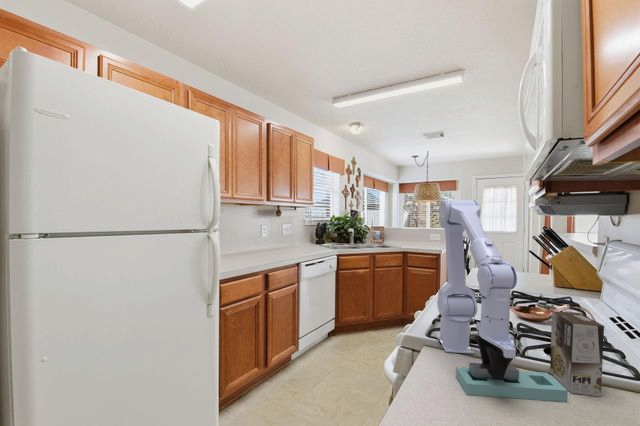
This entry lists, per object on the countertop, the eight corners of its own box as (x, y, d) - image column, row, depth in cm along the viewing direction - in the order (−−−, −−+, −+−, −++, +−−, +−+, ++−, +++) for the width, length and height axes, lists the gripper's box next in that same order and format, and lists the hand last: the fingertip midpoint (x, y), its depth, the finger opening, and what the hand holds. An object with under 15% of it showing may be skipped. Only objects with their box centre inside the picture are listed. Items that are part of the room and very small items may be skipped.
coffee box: (602, 397, 68) (606, 326, 68) (569, 393, 69) (572, 323, 69) (577, 375, 77) (580, 312, 77) (548, 371, 78) (551, 309, 78)
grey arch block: (468, 383, 73) (469, 362, 73) (512, 386, 72) (513, 365, 72) (472, 389, 70) (473, 368, 70) (518, 392, 69) (519, 370, 69)
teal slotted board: (467, 394, 68) (467, 383, 68) (455, 377, 75) (456, 367, 75) (567, 401, 66) (567, 390, 66) (546, 383, 73) (546, 372, 73)
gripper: (532, 329, 63) (529, 393, 63) (497, 305, 77) (495, 358, 78) (496, 327, 64) (494, 391, 64) (468, 304, 78) (467, 356, 79)
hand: (492, 373), depth 71 cm, fingers open, 4 cm apart
